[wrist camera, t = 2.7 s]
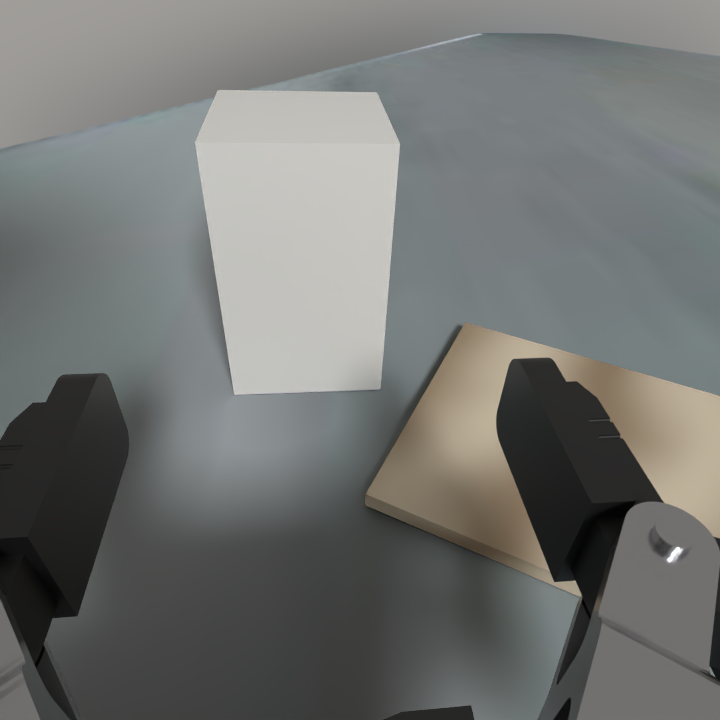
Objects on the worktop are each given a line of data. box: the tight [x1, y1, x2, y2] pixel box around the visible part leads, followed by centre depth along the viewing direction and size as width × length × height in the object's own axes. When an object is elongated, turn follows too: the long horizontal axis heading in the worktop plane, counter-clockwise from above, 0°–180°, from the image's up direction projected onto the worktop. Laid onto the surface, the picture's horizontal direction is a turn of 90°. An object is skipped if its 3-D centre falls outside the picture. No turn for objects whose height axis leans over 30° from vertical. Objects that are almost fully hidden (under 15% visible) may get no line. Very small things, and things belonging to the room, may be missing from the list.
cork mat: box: [365, 322, 720, 597], centre depth 20 cm, size 11×11×1 cm
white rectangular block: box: [195, 90, 400, 395], centre depth 21 cm, size 6×6×10 cm
